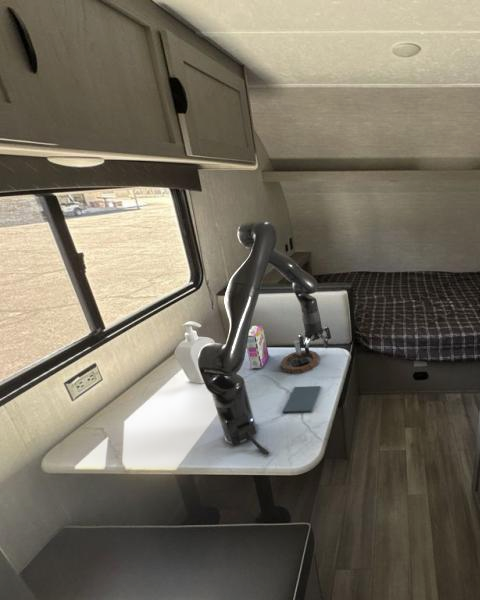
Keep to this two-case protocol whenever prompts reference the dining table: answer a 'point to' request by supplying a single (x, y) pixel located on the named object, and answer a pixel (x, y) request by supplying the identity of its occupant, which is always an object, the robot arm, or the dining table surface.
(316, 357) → the ring
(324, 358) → the dining table surface
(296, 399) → the mat
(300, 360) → the stand
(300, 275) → the robot arm
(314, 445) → the dining table surface
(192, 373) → the soap bottle
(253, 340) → the candy bar box
